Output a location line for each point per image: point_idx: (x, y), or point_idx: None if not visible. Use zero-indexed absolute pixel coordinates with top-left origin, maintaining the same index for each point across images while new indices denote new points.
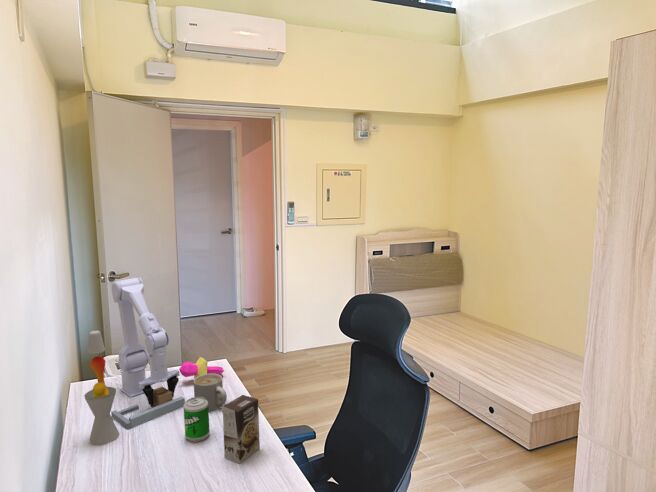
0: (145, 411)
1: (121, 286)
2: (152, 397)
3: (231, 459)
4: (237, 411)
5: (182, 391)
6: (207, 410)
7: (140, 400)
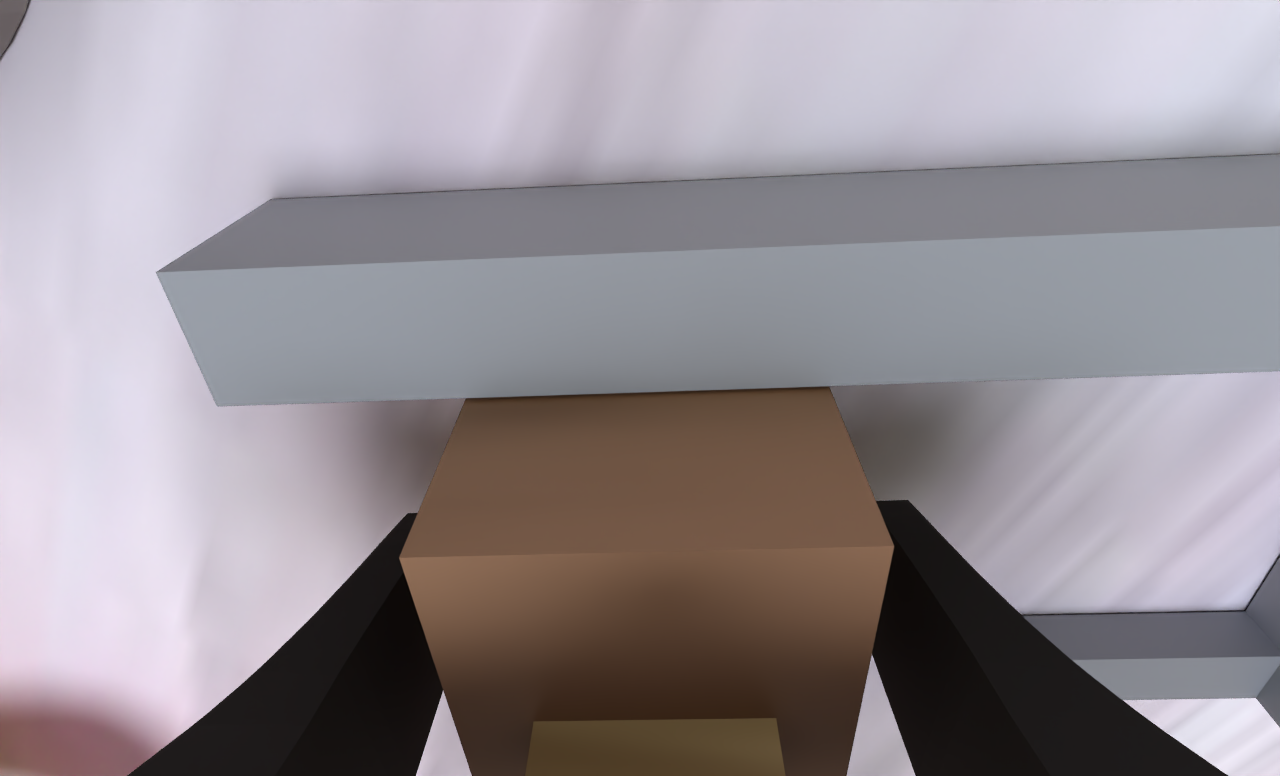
0: (1273, 328)
1: None
2: (987, 649)
3: None
4: None
5: (204, 647)
6: None
7: None
